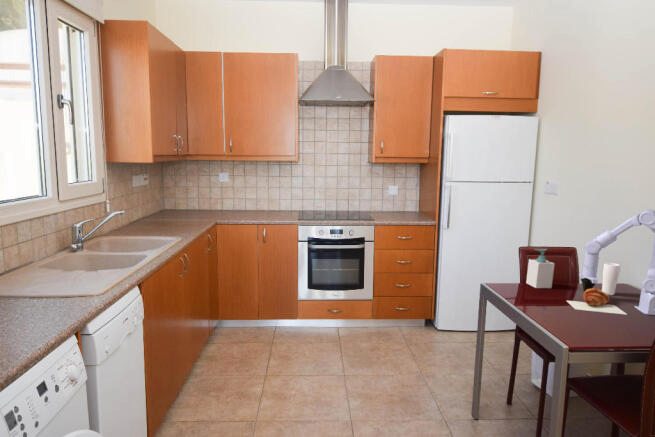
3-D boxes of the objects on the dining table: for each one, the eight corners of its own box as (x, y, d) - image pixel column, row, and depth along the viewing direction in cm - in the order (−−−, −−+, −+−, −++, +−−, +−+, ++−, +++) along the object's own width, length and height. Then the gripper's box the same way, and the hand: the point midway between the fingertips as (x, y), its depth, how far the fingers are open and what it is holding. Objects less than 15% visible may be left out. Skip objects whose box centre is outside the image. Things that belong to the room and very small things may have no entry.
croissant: (593, 303, 207) (586, 287, 209) (616, 298, 200) (609, 282, 202) (581, 312, 192) (573, 294, 193) (605, 306, 185) (598, 288, 187)
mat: (627, 314, 183) (627, 314, 183) (575, 309, 187) (575, 309, 187) (614, 305, 194) (614, 305, 194) (566, 300, 198) (566, 300, 198)
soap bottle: (525, 283, 225) (529, 247, 222) (541, 283, 226) (545, 247, 223) (535, 288, 216) (539, 250, 214) (551, 288, 218) (556, 251, 215)
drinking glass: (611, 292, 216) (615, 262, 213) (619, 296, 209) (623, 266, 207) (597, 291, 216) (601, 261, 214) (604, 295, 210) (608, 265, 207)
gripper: (575, 261, 210) (572, 288, 212) (587, 269, 196) (583, 298, 198) (591, 263, 209) (587, 290, 211) (604, 270, 195) (600, 299, 197)
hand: (586, 294), depth 204 cm, fingers closed
